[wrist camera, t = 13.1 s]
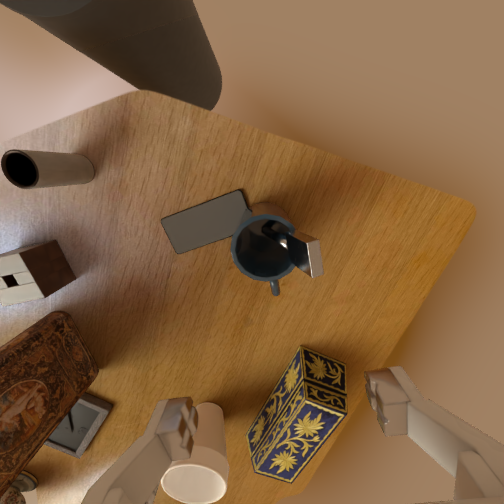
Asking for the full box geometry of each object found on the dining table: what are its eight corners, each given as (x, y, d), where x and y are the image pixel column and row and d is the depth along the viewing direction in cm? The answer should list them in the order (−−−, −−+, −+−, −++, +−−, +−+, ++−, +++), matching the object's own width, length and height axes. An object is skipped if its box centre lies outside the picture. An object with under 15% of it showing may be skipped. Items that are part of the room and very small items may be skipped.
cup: (245, 413, 56) (241, 487, 43) (212, 437, 59) (198, 513, 46) (205, 385, 53) (188, 454, 40) (172, 412, 56) (147, 484, 43)
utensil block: (17, 248, 43) (-27, 263, 37) (55, 239, 42) (18, 252, 36) (39, 286, 46) (2, 306, 39) (76, 279, 45) (45, 298, 38)
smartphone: (158, 219, 40) (240, 188, 38) (161, 218, 41) (241, 188, 39) (176, 255, 42) (255, 228, 40) (178, 253, 43) (255, 226, 41)
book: (42, 313, 48) (-168, 454, 24) (66, 309, 47) (-124, 448, 24) (78, 374, 53) (-66, 538, 30) (100, 371, 53) (-29, 536, 29)
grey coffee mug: (232, 208, 40) (222, 223, 29) (285, 196, 39) (295, 207, 28) (249, 275, 44) (246, 309, 33) (298, 266, 43) (310, 297, 32)
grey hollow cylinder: (74, 186, 39) (12, 192, 29) (61, 157, 38) (-8, 153, 28) (99, 180, 39) (45, 185, 29) (87, 151, 37) (26, 145, 28)
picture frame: (47, 375, 54) (24, 427, 60) (39, 383, 52) (16, 435, 58) (113, 405, 56) (83, 451, 62) (108, 413, 54) (78, 460, 61)
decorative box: (245, 435, 58) (242, 480, 50) (300, 345, 48) (308, 382, 40) (285, 447, 59) (289, 494, 51) (346, 362, 50) (364, 402, 41)
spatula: (257, 219, 39) (306, 243, 24) (265, 217, 39) (319, 239, 24) (262, 241, 40) (312, 278, 25) (270, 239, 41) (323, 274, 25)
